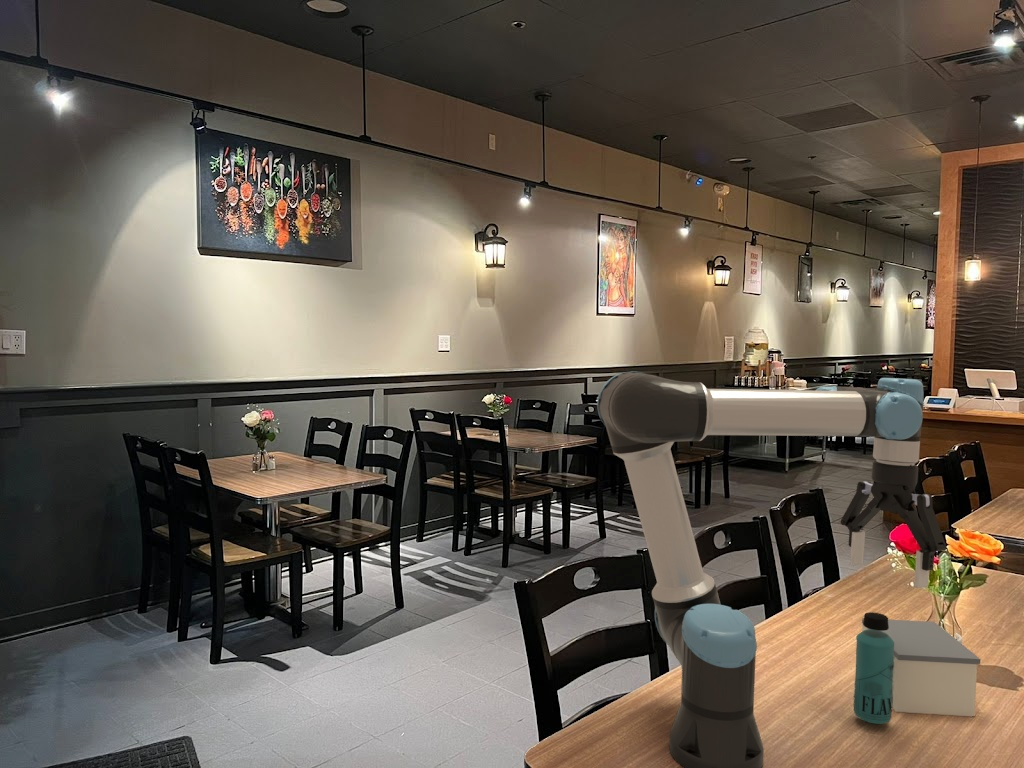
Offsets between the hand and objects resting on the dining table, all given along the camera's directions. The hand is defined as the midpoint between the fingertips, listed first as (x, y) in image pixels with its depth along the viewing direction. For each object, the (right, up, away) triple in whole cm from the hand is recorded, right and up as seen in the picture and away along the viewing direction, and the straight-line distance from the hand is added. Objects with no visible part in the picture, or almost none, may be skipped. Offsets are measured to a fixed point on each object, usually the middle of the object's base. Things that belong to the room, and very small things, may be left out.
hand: (887, 575), depth 138 cm
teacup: (+24, -25, +25) cm, 43 cm away
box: (+10, -25, +9) cm, 29 cm away
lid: (+10, -15, +9) cm, 20 cm away
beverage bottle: (-4, -26, -3) cm, 27 cm away
